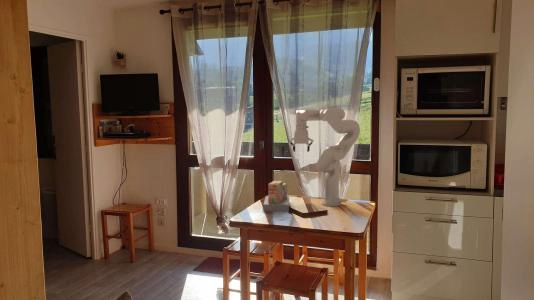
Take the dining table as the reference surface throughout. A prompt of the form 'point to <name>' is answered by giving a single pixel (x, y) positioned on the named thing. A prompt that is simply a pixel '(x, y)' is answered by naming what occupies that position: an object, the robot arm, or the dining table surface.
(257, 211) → the dining table surface
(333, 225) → the dining table surface
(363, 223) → the dining table surface
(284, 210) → the grey box
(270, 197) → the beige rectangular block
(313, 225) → the dining table surface
